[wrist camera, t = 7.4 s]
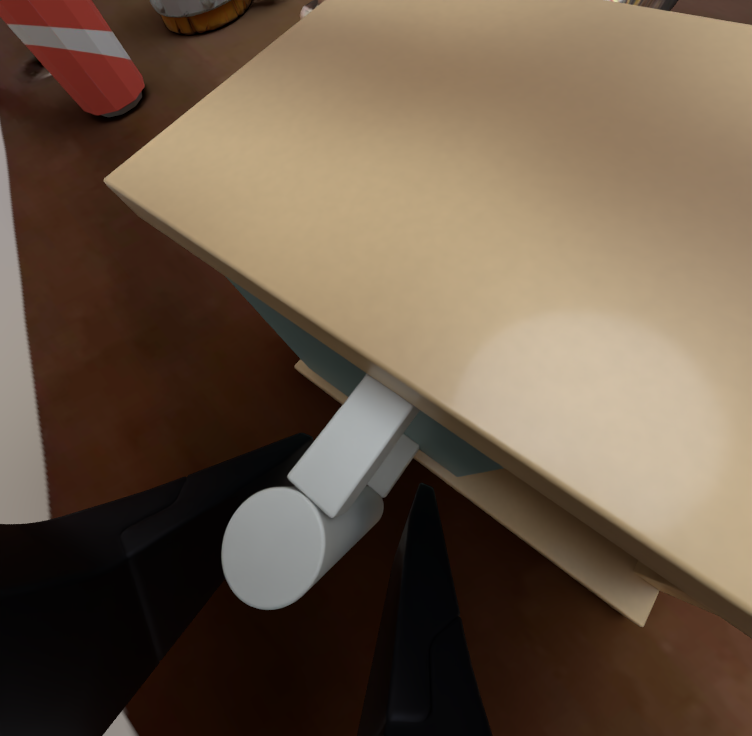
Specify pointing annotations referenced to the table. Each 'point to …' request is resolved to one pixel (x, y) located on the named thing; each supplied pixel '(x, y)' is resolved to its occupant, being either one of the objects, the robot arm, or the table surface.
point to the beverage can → (77, 52)
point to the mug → (198, 14)
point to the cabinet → (511, 256)
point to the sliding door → (331, 479)
